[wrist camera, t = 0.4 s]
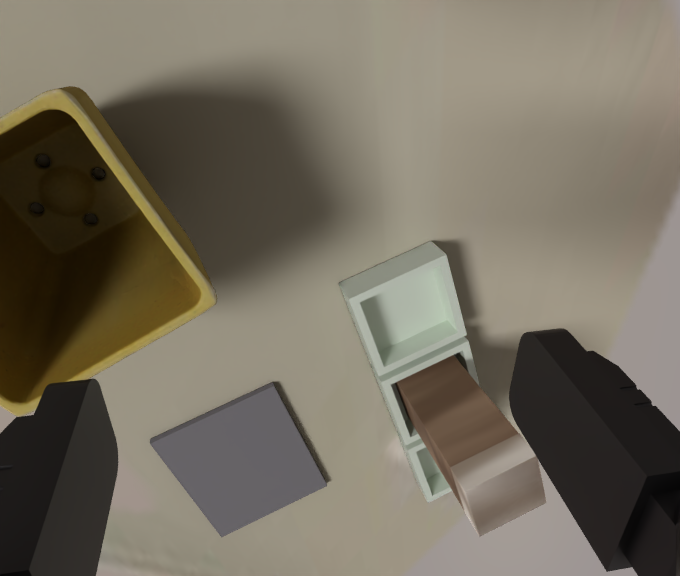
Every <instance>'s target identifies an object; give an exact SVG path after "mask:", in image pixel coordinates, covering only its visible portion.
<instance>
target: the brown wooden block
mask: <svg viewBox="0 0 680 576" xmlns="http://www.w3.org/2000/svg"><path fill="white" fill-rule="evenodd" d="M395 384H396V387H397V390H398V392H399V395H400V398H401V401H402V403H403V406H404V409H405V411H406V414H407V416H408V418H409V419H410V421H411V423H412V424H413V426H414V428H415V429H416V431H417V433H418V434H419V436H420V438H421V439H422V441H423V443H424V444H425V446H426V448H427V449H428V451H429V453H430V454H431V456H432V458H433V459H434V461H435V463H436V464H437V466H438V468H439V469H440V471H441V473H442V474H443V476H444V478H445V479H446V481H447V483H448V484H449V486H450V488H451V489H452V491H453V493H454V494H455V496H456V498H457V499H458V501H459V503H460V504H461V506H462V508H463V509H464V511H465V513H466V515H467V517H468V518H469V520H470V522H471V523H472V525H473V527H474V528H475V530H476V531H477V533H478V535H479V537H480V536H482V535H484V534H486V533H488V532H490V531H492V530H494V529H496V528H498V527H500V526H502V525H504V524H506V523H508V522H510V521H512V520H514V519H516V518H518V517H520V516H522V515H524V514H526V513H527V512H529V511H531V510H533V509H535V508H537V507H539V506H541V505H543V504H545V503H546V497H545V493H544V487H543V483H542V478H541V472H540V468H539V462H538V458H537V457H536V455H535V453H534V452H533V450H532V448H531V447H530V446H529V445H528V443H527V442H526V441H525V440H524V439H523V437H522V436H521V435H520V434H519V433H518V432H517V431H516V430H515V428H514V427H513V426H512V425H511V424H510V422H509V421H508V420H507V419H506V418H505V416H504V415H503V414H502V413H501V412H500V410H499V409H498V408H497V407H496V406H495V404H494V403H493V402H492V401H491V400H490V398H489V397H488V396H487V395H486V393H485V392H484V391H483V390H482V389H481V387H480V386H479V385H478V384H477V383H476V381H475V380H474V379H473V378H472V377H471V375H470V374H469V373H468V372H467V371H466V369H465V368H464V367H463V366H462V365H461V363H460V362H459V361H458V360H457V359H456V357H455V356H454V355H452V356H450V357H448V358H446V359H444V360H441V361H439V362H437V363H435V364H433V365H431V366H429V367H427V368H425V369H423V370H421V371H418V372H416V373H414V374H412V375H410V376H408V377H406V378H404V379H402V380H400V381H397V382H395Z"/></svg>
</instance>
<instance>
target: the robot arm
mask: <svg viewBox="0 0 680 576" xmlns="http://www.w3.org/2000/svg"><path fill="white" fill-rule="evenodd" d="M509 401H510V408H511V412H512V415H513V418H514V420H515V422H516V424H517V425H518V427H519V429H520V430H521V432H522V434H523V435H524V437H525V439H526V440H527V442H528V443H529V445H530V447H531V448H532V450H533V452H534V453H535V455H536V457H537V458H538V460H539V461H540V463H541V465H542V466H543V468H544V470H545V471H546V473H547V475H548V476H549V478H550V479H551V481H552V483H553V484H554V486H555V488H556V489H557V491H558V492H559V494H560V496H561V497H562V499H563V501H564V502H565V504H566V505H567V507H568V509H569V511H570V512H571V514H572V515H573V517H574V519H575V520H576V522H577V524H578V525H579V527H580V528H581V530H582V532H583V533H584V535H585V537H586V538H587V540H588V541H589V543H590V545H591V547H592V548H593V550H594V551H595V553H596V555H597V556H598V558H599V560H600V561H601V563H602V564H603V566H604V568H605V569H606V571H613V570H618V569H624V568H630V567H633V569H634V570H635V572H636V573H637V575H638V576H680V431H679V430H678V429H677V428H676V427H675V426H674V425H673V424H672V423H671V422H670V421H669V420H668V419H667V418H666V416H665V415H664V414H663V413H662V412H661V411H660V410H659V409H658V408H657V407H656V406H652V404H651V400H650V399H649V398H648V397H646V395H645V394H644V393H643V392H642V391H641V390H637V388H636V385H635V383H634V382H633V381H632V380H631V379H630V378H629V377H628V376H627V375H626V374H625V373H624V372H623V371H622V370H621V369H620V368H619V366H617V365H615V364H613V363H612V362H610V361H609V360H607V359H606V358H604V357H602V356H601V355H599V354H597V353H596V352H594V351H586V350H585V349H584V348H583V347H582V346H581V345H580V344H579V342H578V341H577V340H576V339H575V338H574V337H573V336H572V335H571V334H570V333H569V332H568V331H567V330H566V329H551V330H542V331H533V332H526V333H524V334H523V335H522V337H521V339H520V343H519V348H518V352H517V357H516V362H515V367H514V372H513V377H512V381H511V386H510V392H509ZM117 471H118V448H117V442H116V438H115V434H114V431H113V428H112V424H111V421H110V418H109V414H108V411H107V408H106V404H105V401H104V398H103V395H102V391H101V388H100V385H99V383H98V381H97V380H96V379H86V380H77V381H68V382H59V383H51V384H48V385H47V386H46V388H45V390H44V392H43V394H42V396H41V399H40V401H39V404H38V406H37V408H36V411H35V413H34V415H31V416H22V417H16V418H15V419H14V420H13V421H12V422H11V423H10V424H9V425H8V426H7V427H6V428H5V429H4V430H3V432H1V434H0V576H96V572H97V567H98V562H99V558H100V553H101V548H102V543H103V539H104V534H105V529H106V524H107V520H108V515H109V510H110V505H111V500H112V496H113V491H114V486H115V481H116V477H117Z"/></svg>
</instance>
